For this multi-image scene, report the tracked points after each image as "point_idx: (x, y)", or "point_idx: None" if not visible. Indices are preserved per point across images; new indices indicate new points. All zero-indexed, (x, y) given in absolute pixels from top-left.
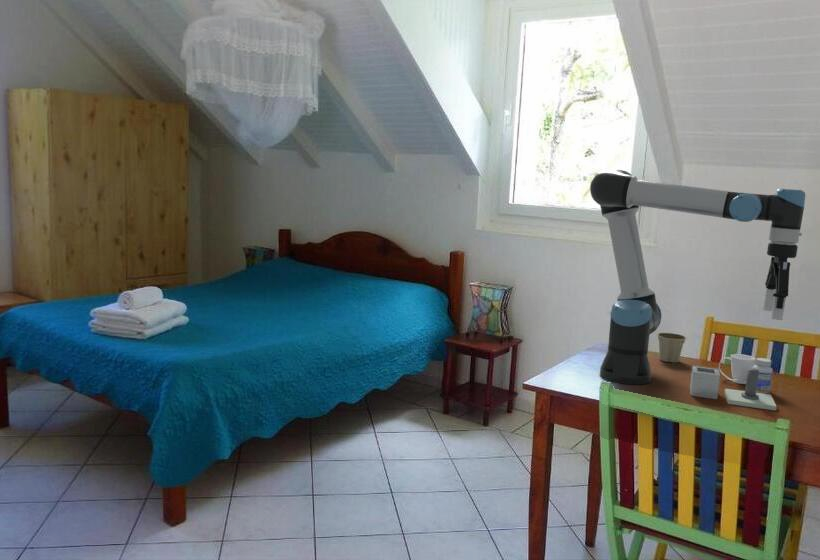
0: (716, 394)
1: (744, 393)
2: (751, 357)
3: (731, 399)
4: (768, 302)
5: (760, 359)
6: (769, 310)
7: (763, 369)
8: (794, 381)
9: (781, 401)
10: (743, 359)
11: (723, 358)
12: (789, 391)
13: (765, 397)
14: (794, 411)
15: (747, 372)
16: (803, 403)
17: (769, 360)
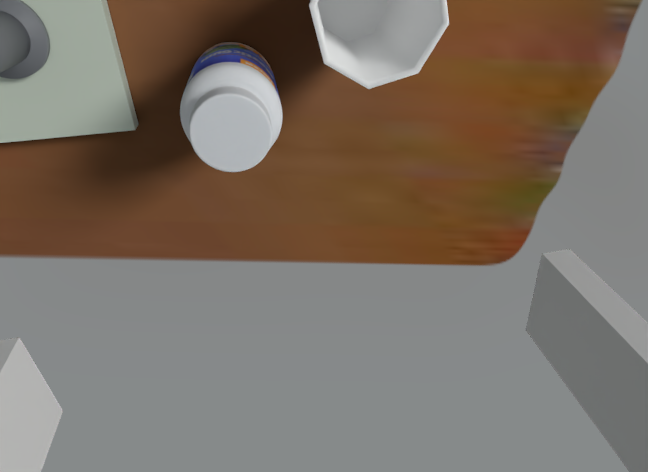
0: None
1: (7, 9)
2: (413, 65)
3: None
4: (594, 356)
5: (222, 116)
6: (533, 306)
7: (183, 121)
8: (462, 213)
9: (131, 163)
10: (312, 14)
11: None
12: (306, 194)
13: (64, 107)
14: (18, 203)
15: None
16: (165, 232)
17: (234, 163)
